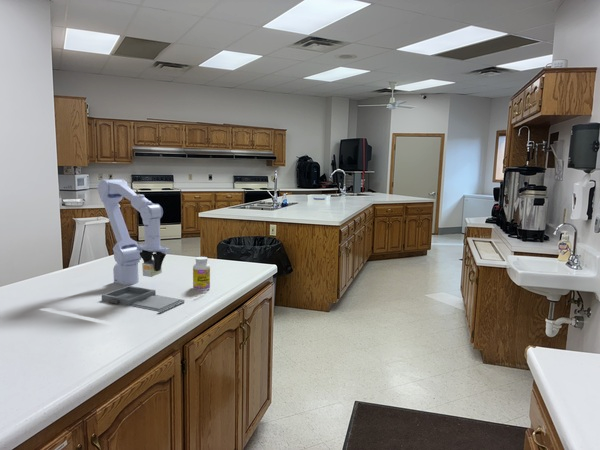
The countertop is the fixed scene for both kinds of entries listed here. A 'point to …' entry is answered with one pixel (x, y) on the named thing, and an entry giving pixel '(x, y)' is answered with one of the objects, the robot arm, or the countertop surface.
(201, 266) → the supplement bottle
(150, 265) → the block
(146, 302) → the case
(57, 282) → the countertop surface
